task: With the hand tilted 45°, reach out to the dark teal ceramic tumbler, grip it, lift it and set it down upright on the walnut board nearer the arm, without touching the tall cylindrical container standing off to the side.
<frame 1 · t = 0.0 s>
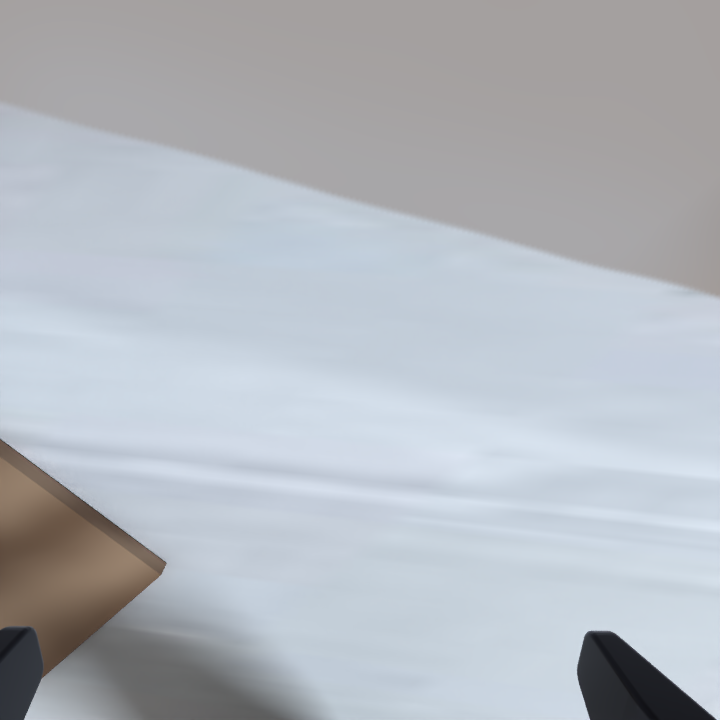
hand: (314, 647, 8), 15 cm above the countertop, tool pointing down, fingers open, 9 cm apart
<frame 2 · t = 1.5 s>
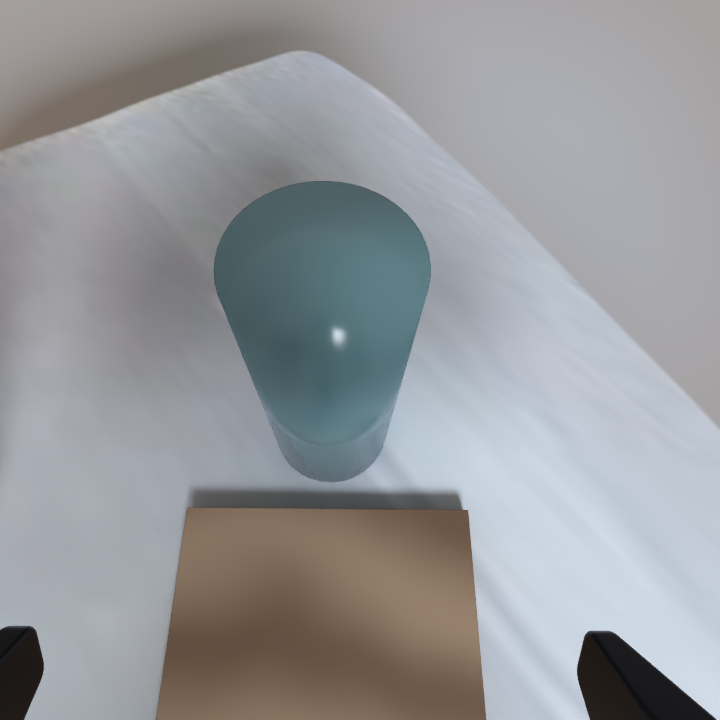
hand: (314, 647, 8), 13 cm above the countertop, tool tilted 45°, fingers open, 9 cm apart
walnut board: (324, 670, 20), on the countertop
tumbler: (331, 427, 24), on the countertop
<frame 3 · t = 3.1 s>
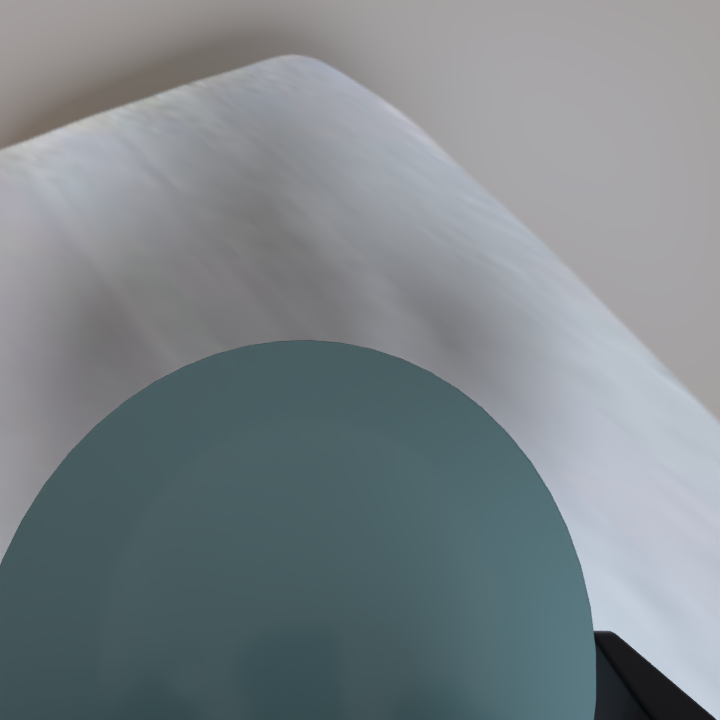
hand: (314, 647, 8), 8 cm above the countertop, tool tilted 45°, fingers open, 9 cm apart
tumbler: (327, 605, 16), on the countertop
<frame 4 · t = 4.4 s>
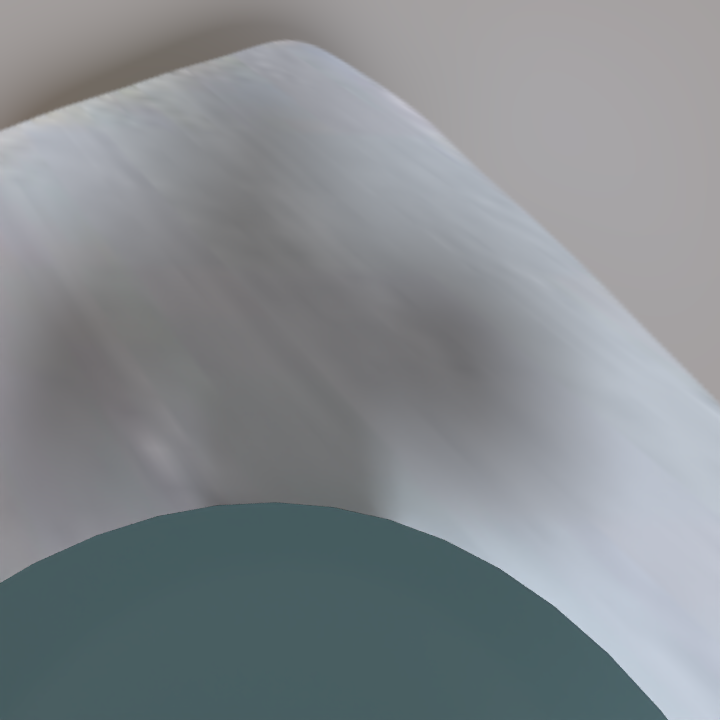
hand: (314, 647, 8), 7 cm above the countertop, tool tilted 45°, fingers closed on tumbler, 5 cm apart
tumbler: (323, 685, 14), on the countertop, touching gripper
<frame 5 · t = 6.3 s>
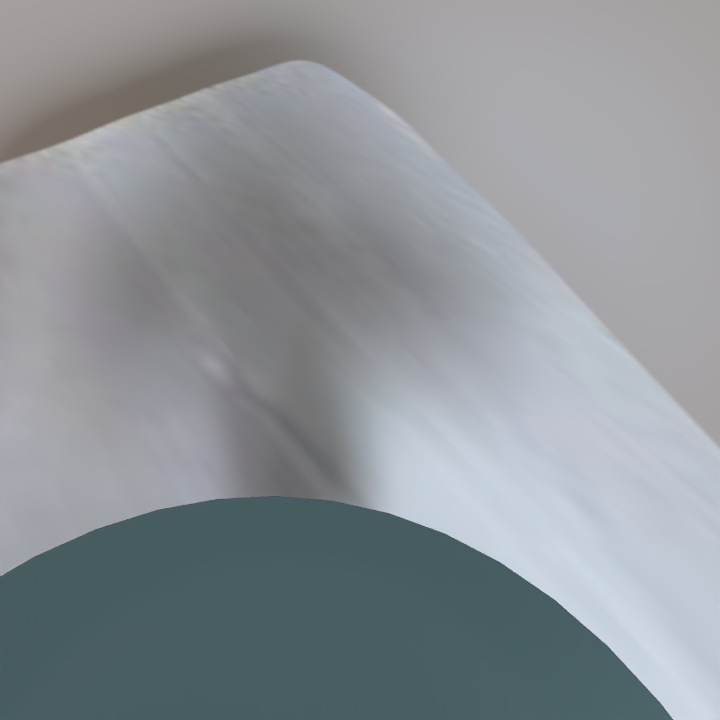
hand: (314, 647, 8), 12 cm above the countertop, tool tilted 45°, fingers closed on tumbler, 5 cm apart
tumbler: (323, 684, 14), point 5 cm above the countertop, touching gripper
when the fingers open (8 cm above the countertop, at t = 8.1 s): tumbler drops 1 cm, resting on walnut board.
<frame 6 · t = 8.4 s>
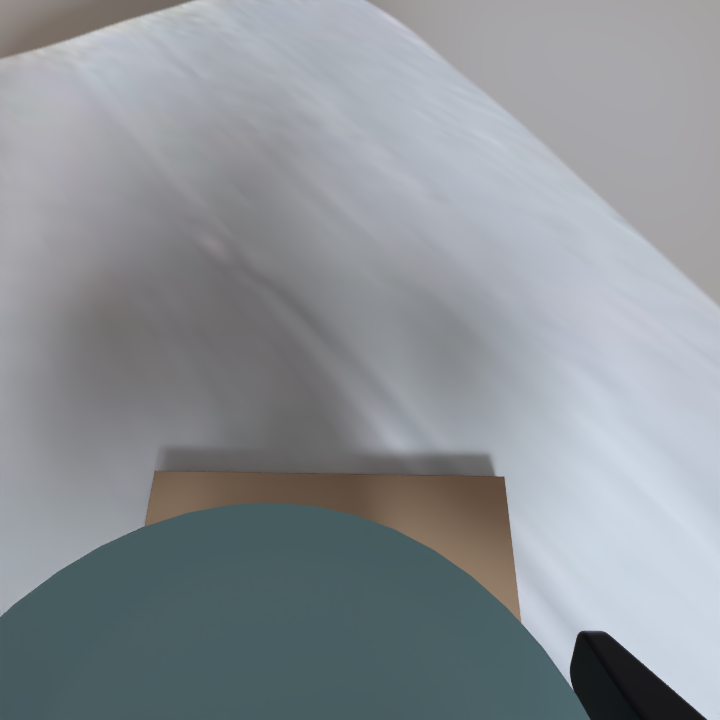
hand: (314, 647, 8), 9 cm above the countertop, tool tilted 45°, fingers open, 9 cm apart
walnut board: (325, 675, 15), on the countertop
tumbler: (324, 682, 14), point 1 cm above the countertop, touching walnut board
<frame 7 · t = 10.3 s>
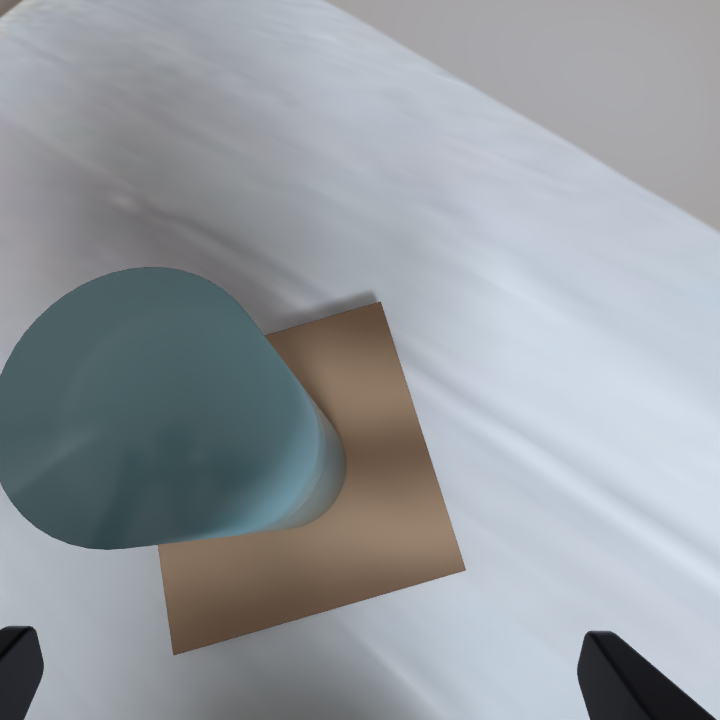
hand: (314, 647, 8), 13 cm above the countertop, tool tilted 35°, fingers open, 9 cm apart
walnut board: (289, 465, 22), on the countertop
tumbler: (286, 465, 21), point 1 cm above the countertop, touching walnut board
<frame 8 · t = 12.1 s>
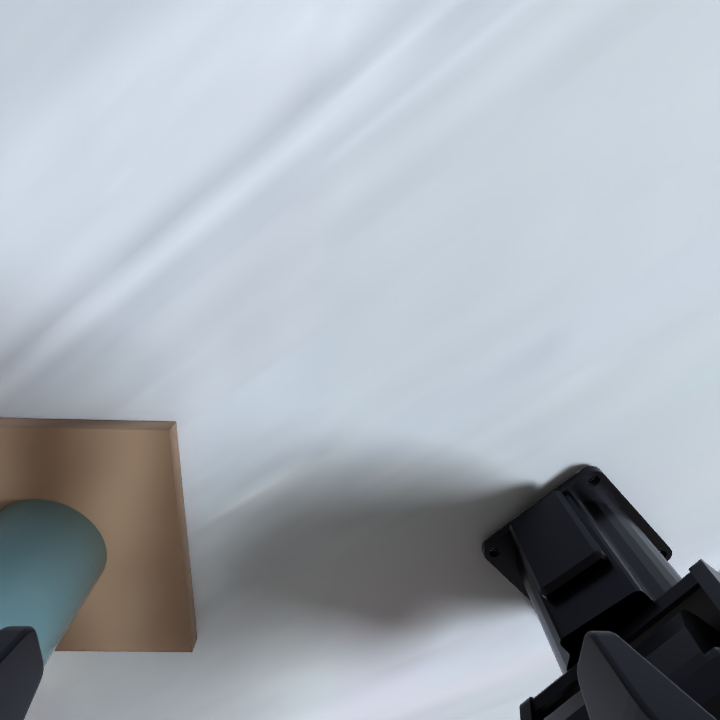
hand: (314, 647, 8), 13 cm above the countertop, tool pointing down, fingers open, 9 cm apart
walnut board: (55, 537, 23), on the countertop
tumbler: (46, 549, 22), point 1 cm above the countertop, touching walnut board
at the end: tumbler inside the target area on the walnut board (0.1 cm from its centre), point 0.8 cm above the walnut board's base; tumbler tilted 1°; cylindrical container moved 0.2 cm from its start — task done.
